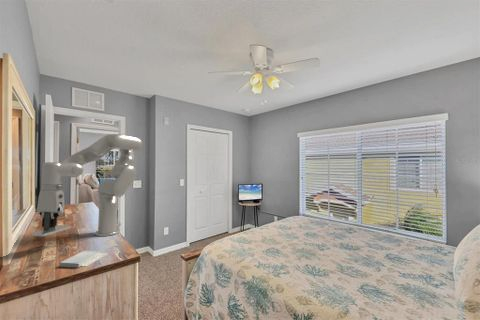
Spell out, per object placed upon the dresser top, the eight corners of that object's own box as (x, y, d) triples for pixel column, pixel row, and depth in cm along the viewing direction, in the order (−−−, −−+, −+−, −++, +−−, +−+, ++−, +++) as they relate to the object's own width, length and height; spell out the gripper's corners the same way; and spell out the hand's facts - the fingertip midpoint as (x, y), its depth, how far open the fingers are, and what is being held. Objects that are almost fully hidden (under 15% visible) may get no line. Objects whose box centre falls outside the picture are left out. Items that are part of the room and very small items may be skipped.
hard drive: (78, 263, 86) (100, 251, 98) (58, 262, 86) (83, 250, 98) (78, 267, 86) (100, 254, 98) (58, 266, 86) (83, 254, 98)
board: (85, 252, 101) (86, 251, 101) (108, 253, 100) (108, 253, 100) (60, 265, 88) (60, 264, 88) (86, 266, 87) (86, 266, 87)
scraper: (31, 235, 97) (32, 215, 97) (59, 227, 111) (60, 209, 111) (43, 236, 96) (44, 215, 97) (70, 228, 110) (71, 210, 111)
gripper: (74, 187, 108) (72, 225, 107) (43, 186, 109) (41, 223, 108) (60, 189, 100) (58, 229, 99) (27, 188, 101) (25, 227, 101)
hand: (49, 226), depth 104 cm, fingers closed on scraper, 3 cm apart
